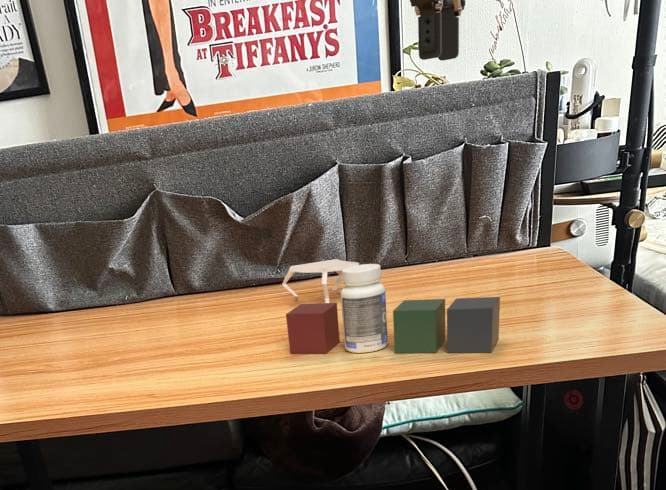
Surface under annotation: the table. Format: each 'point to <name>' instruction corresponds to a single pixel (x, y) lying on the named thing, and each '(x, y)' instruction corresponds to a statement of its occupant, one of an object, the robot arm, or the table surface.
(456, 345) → the slate block
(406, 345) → the green block
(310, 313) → the maroon block
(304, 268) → the white legged frame
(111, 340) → the table surface
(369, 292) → the pill bottle
